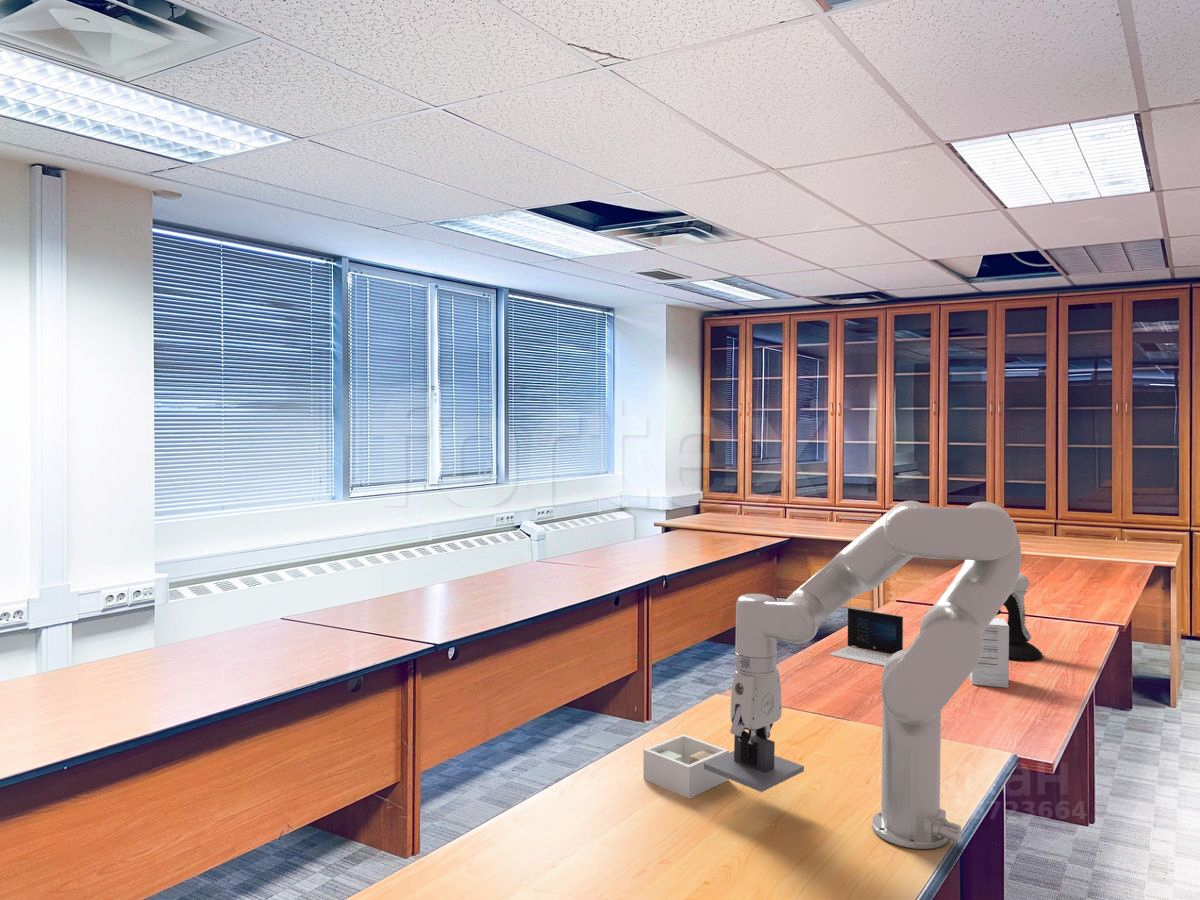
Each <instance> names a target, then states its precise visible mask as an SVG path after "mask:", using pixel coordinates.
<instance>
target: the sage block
mask: <svg viewBox="0 0 1200 900" xmlns="http://www.w3.org/2000/svg"><path fill="white" fill-rule="evenodd" d="M659 754H662V755H665V756H667V757H670V758H672V759H675V760H677V761H680V762H683V756H682V755H679V754H676V753H674V752H671V751H669V750H667V751H664V752H662V753H659Z"/></svg>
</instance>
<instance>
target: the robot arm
mask: <svg viewBox="0 0 1200 900" xmlns="http://www.w3.org/2000/svg"><path fill="white" fill-rule="evenodd" d="M913 558H919V559H920V558H921V559H930V560H931V559H935V560H955V561H956V560H958V561H959V560H960V561H963V563H962V565H961V568H960V569H959V570H958V571H957V573H956V574H955V576H954V578H953V579H952V580H951V582H950V584H949V585H948V586H947V588H946V589H945V590H944V591H943V593H942V594H941V595H940V597H939V598H938V599H937V600H936V602H935V603H934V604H933V605H932V606H931V607H930V608H929V609H928V610H927V612H926V613H925V614H924V615H923V616H922V617H923V618H922V619H921V621H920V627H919V633H918V634H917V636H916V638H915V639H914V640H913V641H912V643H911V644H910V645H909V647H908V648H903V650H900V651H898V652H896V653H894V654H893V655H892V656H891V657H890V658H889V659H888V660H887V662H886V664H885V666H883V670H882V676H881V688H880V690H881V691H880V694H881V700H882V724H881V725H882V726H881V727H882V728H881V729H882V731H881V734H882V737H881V811H879V812H877V813H875V814H874V815H873V817H872V819H871V828H872V829H873V832H874V833H876V835H877V836H879V837H880V838H881V839H883V840H884V841H887V842H889V843H891V844H894V845H895V846H896V845H897V846H900V847H904V848H909V849H918V850H930V849H937V848H940V847H943V846H944V845H946V844H947V843H948V842H949V840H950V841H952V842H955V843H957V844H960V843H961V841H963V831H962V826H961V825H960V824H958V823H954V822H951V821H948V819H947V818H946V810H945V809H941V807H940V805H941V803H940V802H941V747H942V746H941V745H942V743H941V742H942V710H943V709H944V708H945V706H947V704H948V703H949V701H950V700H951V699H952V698H953V697H954V696H955V694H956V693H957V692H958V690H959V689H960V688H961V686H963V684H964V683H965V682H966V680H967V679H968V677H969V675H970V673H971V672H972V671H973V669H974V668H975V667H976V665H977V663H978V662H979V660H980V658H981V655H982V652H983V645H984V643H983V636H982V635H983V633H984V631H985V629H986V628H987V627H988V625H989V624H990V622H991V621H992V620H993V618H996V616H997V615H996V614H997V613H998V611H999V610H1001V609H1002V607H1003V606H1004V605H1003V604H1004V603H1005V601H1006V600H1007V599H1008V597H1009V596H1010V594H1011V592H1012V591H1013V589H1014V587H1015V585H1016V583H1017V580H1018V577H1019V573H1020V574H1021V567H1022V549H1021V542H1020V538H1019V536H1018V530H1017V526H1016V524H1015V521H1014V519H1013V518H1012V517H1011V516H1010V515H1009V513H1008V512H1007V511H1006V510H1005V509H1004V508H1003V507H1001V506H1000V505H998V504H996V503H993V502H989V501H977V502H973V503H972V504H969V505H968V506H967V507H947V506H945V507H944V506H928V505H926V504H924V503H922V502H919V501H916V500H904V501H901V502H899V503H897V504H896V505H894V506H893V507H892V508H891V509H889V510H888V511H887V512H886V513H884V514H883V515H882V516H881V517H880V518H879V519H877V520H876V521H875V522H874V523H872V525H869V527H868V528H866V530H865V531H863V532H862V533H861V534H860V535H858V536H857V537H856V538H855V539H853V540H852V542H850V543H849V544H847V545H846V546H845V547H844V548H843V549H842V550H840V551H839V552H838V553H837V554H836V555H835V556H834V557H833V558H832V559H831V560H830V561H829V562H828V563H827V564H826V565H824V566H823V567H822V568H821V569H820V570H818V571H817V572H816V573H815V574H813V575H812V576H811V577H810V578H809V579H808V580H807V581H805V583H803V584H802V585H800V586H799V587H798V588H796V590H795V591H793V592H792V593H791V594H790V595H789V596H788V597H787V598H786V599H785V600H784V601H777V600H776V599H775V598H774V597H773V596H771V595H768V594H764V593H746V594H742V595H740V596H739V597H738V598H737V600H736V602H735V604H736V606H735V656H734V657H735V658H734V659H735V660H734V669H735V670H734V674H733V680H732V686H731V687H732V688H731V695H730V696H731V697H730V720H731V724H732V725H731V727H730V730H729V731H730V734H732V735H734V736H735V735H737V737H738V739H739V741H741V750H740V760H741V762H743V763H746V764H749V765H751V766H755V765H756V745H757V744H754V741H755V735H757V736H760V737H763V738H765V739H770V736H771V729H772V727H773V725H774V724H775V723H776V722H778V721H780V719H781V718H782V712H783V711H782V710H783V709H782V685H781V679H780V672H779V668H778V666H777V662H778V640H779V641H782V642H787V643H791V644H797V645H799V644H805V643H808V642H810V641H811V640H812V639H814V637H815V636H816V634H817V632H818V631H819V629H820V626H821V624H822V623H823V622H824V621H825V620H827V619H828V618H829V617H830V616H831V615H833V614H834V613H835V612H837V611H838V610H839V609H840V608H841V607H843V605H845V604H846V603H848V602H849V601H850V600H852V599H854V598H855V597H857V596H858V595H862V594H865V593H868V592H871V591H872V590H874V589H876V588H877V587H879V586H880V585H882V583H884V581H886V580H887V579H889V578H890V577H891V575H893V574H894V573H896V572H897V571H898V570H899V569H900V568H902V567H903V566H904V565H905V564H907V563H908V562H909V561H910V560H912V559H913ZM747 732H748V733H749V734H748V733H747Z"/></svg>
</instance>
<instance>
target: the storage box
mask: <svg viewBox="0 0 1200 900" xmlns="http://www.w3.org/2000/svg"><path fill="white" fill-rule="evenodd" d="M667 750H669V751H671V752H674V753H676V754H679V755H682V756H683V762H680V761H677V760H675V759H672V758H670V757H667V756H665V755H662V754H659V753H662V752H664V751H667ZM700 751H705V752H708V753H711V754H713V755H711V756H709V757H706V758H704V759H701V760H699V761H697V762H694V763H692V764H690V756H691V755H693V754H695V753H698V752H700ZM729 751H730V750H729V749H726V748H723V747H720V746H718V745H715V744H711V743H709V742H706V741H704V740H700V739H698V738H695V737H692V736H690V735H687V734H684V733H683V734H680V735H678V736H674V737H672V738H670V739H667V740H665V741H662V742H659V743H657V744H654V745H652V746H648V747H647V748H644V749H643V780H645V781H647V782H650V783H652V784H654V785H657V786H659V787H661V788H664V789H665V790H668V791H671V792H673V793H676V794H678V795H679V796H682V797H685V798H687V799H692V798H693V797H695V796H698V795H699V794H702V793H704V792H706V791H708V790H710V789H712V788H714V787H717V786H719V785H721V784H723V783H725V782H727V781H729V780H730V779H728V778H725V777H723V776H720V775H718V774H715V773H713V772H710V771H708V770H705V769H704V763H707V762H709V761H711V760H714V759H716V758H718V757H721V756H723V755H726V754H728V753H730V752H729Z"/></svg>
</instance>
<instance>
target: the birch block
mask: <svg viewBox="0 0 1200 900" xmlns="http://www.w3.org/2000/svg"><path fill="white" fill-rule="evenodd" d="M711 755H713V754H711V753H708V752H705V751H700V752H698V753H695V754H693V755H691V756H690V764H692V763H694V762H697V761H699V760H701V759H704V758H706V757H709V756H711Z"/></svg>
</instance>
